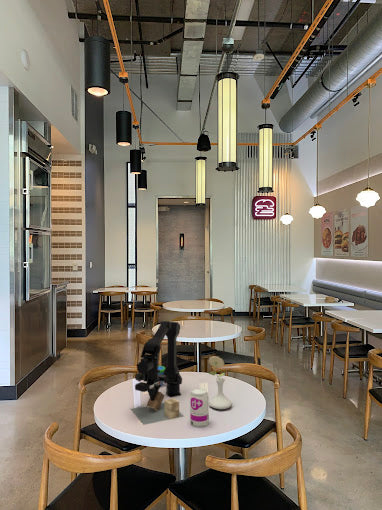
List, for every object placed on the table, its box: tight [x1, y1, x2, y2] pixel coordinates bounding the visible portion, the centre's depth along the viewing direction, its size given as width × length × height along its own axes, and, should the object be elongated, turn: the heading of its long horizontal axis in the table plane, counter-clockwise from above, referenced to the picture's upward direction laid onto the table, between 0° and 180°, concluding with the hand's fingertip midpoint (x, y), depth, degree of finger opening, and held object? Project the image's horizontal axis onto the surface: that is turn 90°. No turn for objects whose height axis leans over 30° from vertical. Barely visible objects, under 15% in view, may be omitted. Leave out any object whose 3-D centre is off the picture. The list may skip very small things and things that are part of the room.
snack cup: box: [158, 365, 166, 387], centre depth 224 cm, size 16×10×10 cm
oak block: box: [163, 397, 180, 420], centre depth 179 cm, size 5×5×7 cm
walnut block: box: [145, 391, 165, 411], centre depth 187 cm, size 4×5×8 cm
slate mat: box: [130, 402, 185, 426], centre depth 184 cm, size 20×20×1 cm
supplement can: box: [189, 388, 210, 428], centre depth 171 cm, size 8×8×15 cm
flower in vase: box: [208, 355, 233, 410], centre depth 191 cm, size 13×11×25 cm
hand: (152, 400), depth 185 cm, fingers closed
